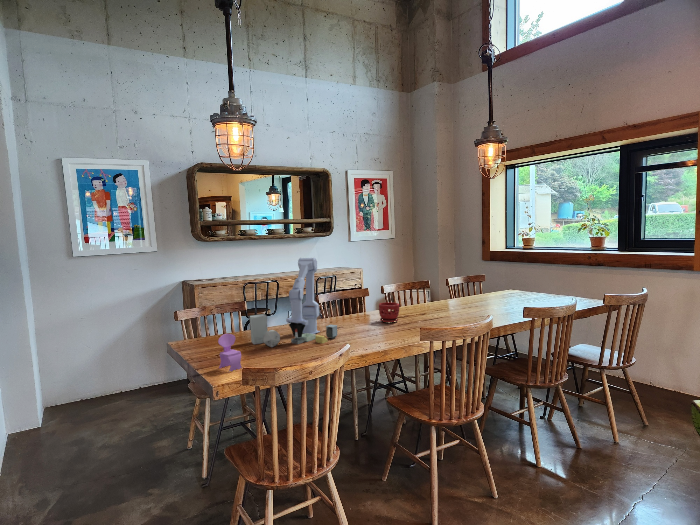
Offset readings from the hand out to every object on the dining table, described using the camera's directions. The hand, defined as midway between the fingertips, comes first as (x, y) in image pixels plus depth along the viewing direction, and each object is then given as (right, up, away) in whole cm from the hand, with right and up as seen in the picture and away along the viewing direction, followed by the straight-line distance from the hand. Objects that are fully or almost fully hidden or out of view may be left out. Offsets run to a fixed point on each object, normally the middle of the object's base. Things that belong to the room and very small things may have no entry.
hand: (297, 336), depth 224 cm
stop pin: (0, -2, 0) cm, 2 cm away
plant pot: (+53, +1, +45) cm, 70 cm away
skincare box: (-21, -4, +2) cm, 21 cm away
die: (-13, -4, -5) cm, 14 cm away
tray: (+4, -3, +6) cm, 8 cm away
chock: (+13, -3, 0) cm, 13 cm away
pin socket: (0, -3, 0) cm, 3 cm away
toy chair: (-24, -7, -40) cm, 47 cm away
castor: (+18, -2, +7) cm, 19 cm away
